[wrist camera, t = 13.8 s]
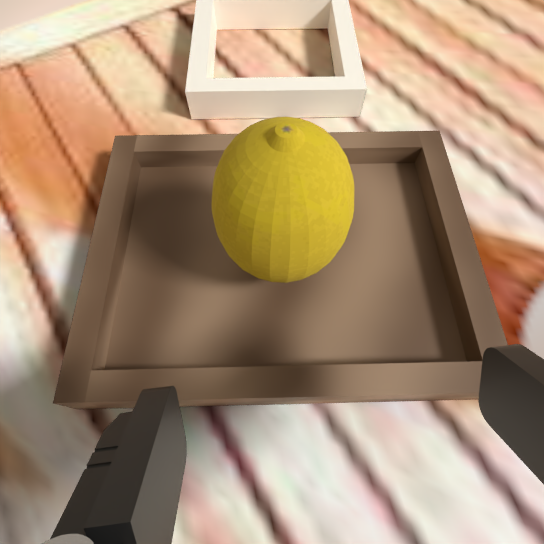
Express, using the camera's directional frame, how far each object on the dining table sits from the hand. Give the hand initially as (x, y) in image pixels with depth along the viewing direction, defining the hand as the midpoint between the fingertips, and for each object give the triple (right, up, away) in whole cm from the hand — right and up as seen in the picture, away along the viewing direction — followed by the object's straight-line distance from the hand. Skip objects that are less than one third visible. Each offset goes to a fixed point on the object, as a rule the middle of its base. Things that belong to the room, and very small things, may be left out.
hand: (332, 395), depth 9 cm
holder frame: (-1, +18, +17) cm, 25 cm away
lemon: (-1, +4, +9) cm, 10 cm away
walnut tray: (-1, +4, +9) cm, 10 cm away
